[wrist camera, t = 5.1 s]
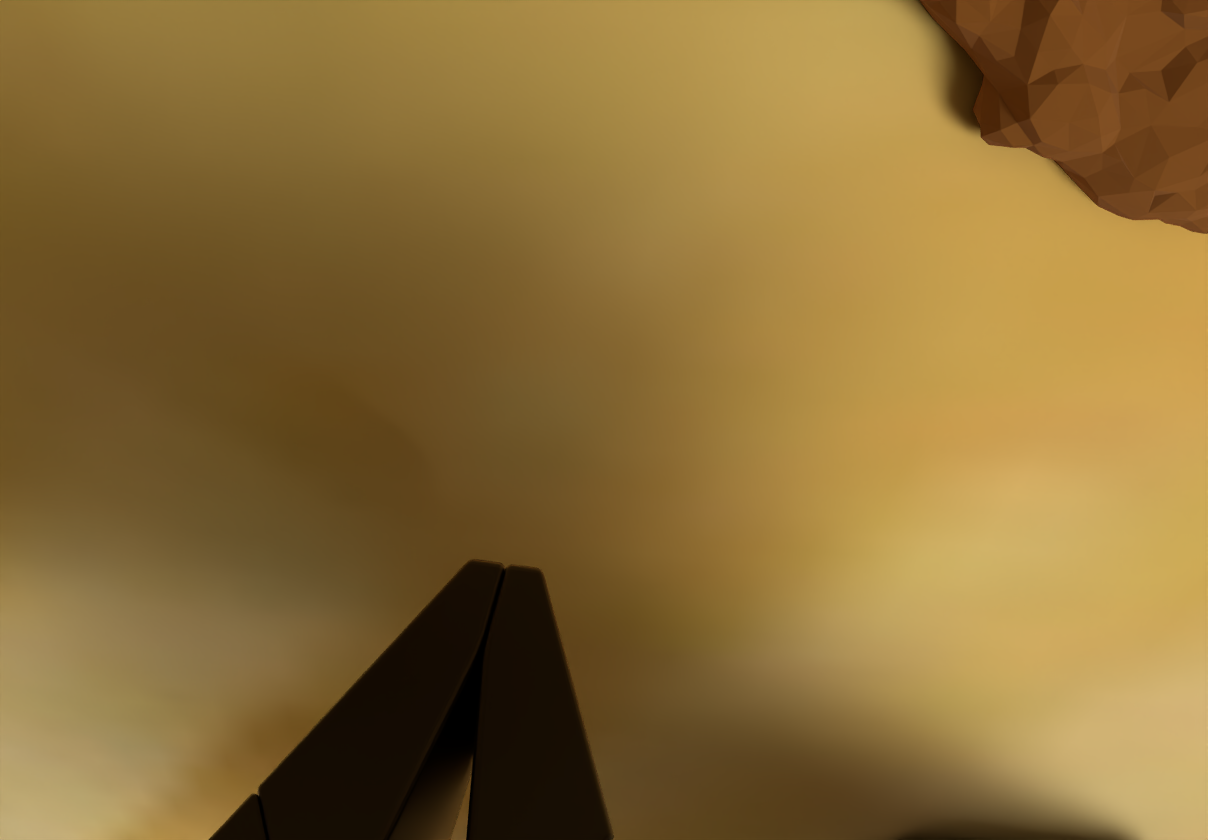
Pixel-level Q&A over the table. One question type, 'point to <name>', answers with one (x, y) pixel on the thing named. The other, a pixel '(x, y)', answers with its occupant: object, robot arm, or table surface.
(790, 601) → the table surface
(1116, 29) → the primitive tool
